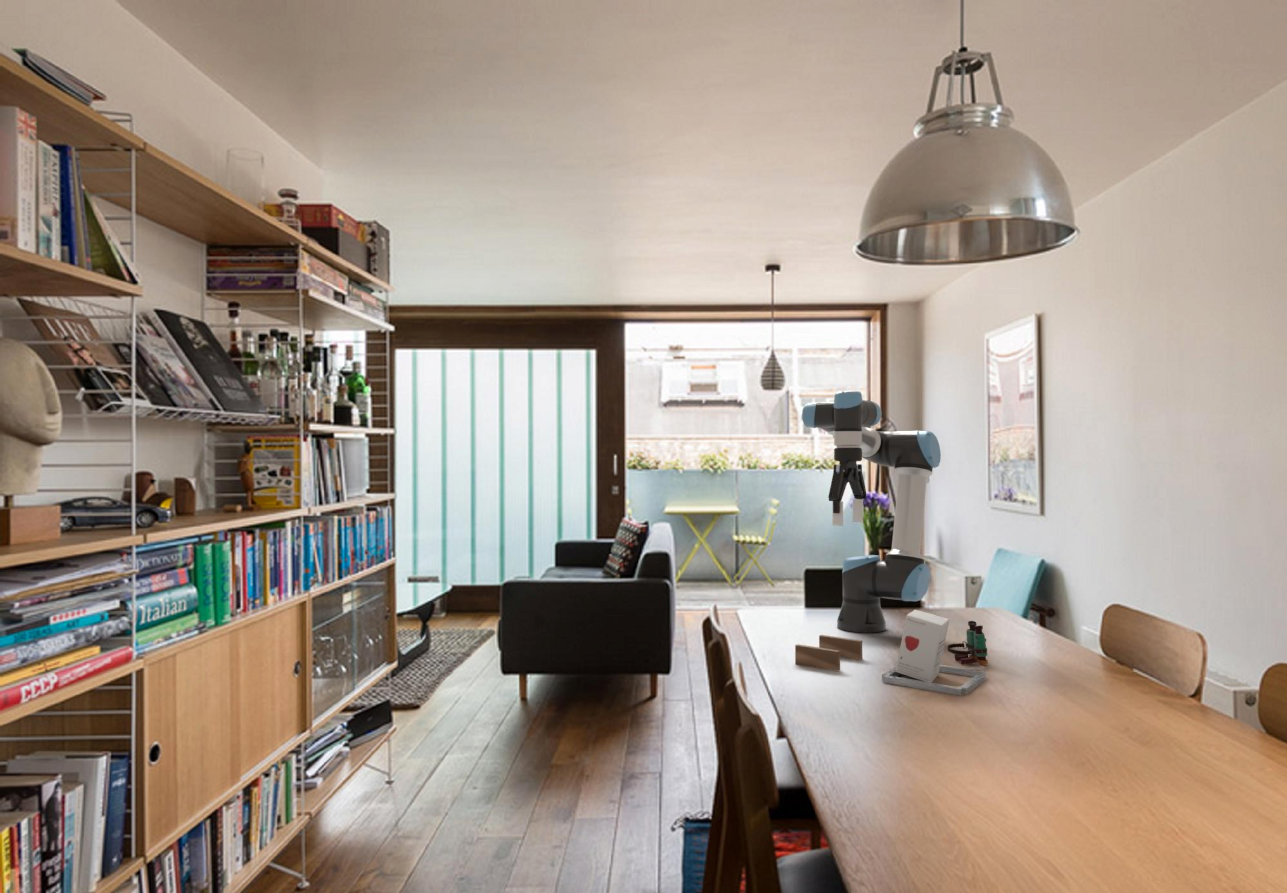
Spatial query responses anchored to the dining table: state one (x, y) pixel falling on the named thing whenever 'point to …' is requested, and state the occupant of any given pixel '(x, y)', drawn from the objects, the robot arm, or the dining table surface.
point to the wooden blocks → (828, 652)
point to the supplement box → (922, 645)
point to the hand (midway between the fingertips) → (848, 523)
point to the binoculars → (972, 646)
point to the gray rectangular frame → (964, 689)
